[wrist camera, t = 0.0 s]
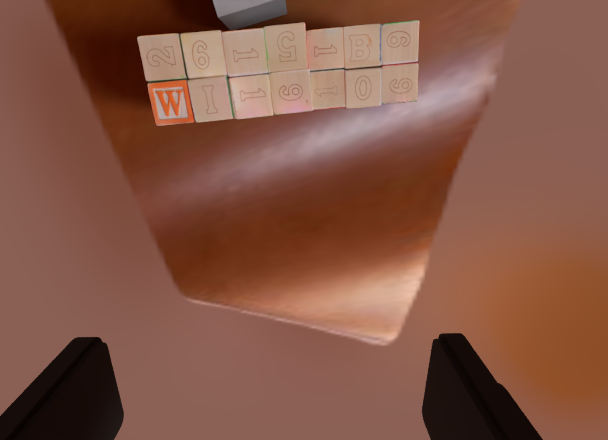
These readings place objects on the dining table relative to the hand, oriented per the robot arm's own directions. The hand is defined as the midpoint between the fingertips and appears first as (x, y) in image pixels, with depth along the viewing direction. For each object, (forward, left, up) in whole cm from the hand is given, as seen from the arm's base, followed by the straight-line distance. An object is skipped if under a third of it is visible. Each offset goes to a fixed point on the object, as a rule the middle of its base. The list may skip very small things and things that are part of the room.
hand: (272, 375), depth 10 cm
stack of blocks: (-10, 0, -32) cm, 33 cm away
